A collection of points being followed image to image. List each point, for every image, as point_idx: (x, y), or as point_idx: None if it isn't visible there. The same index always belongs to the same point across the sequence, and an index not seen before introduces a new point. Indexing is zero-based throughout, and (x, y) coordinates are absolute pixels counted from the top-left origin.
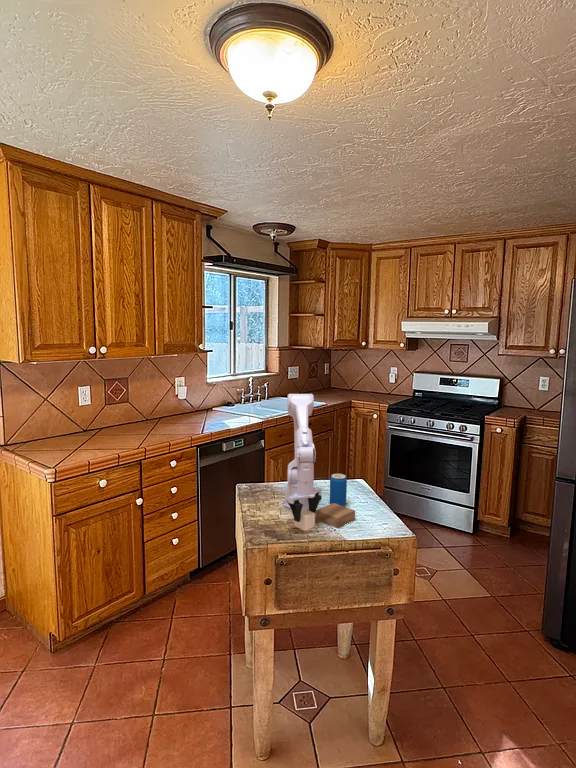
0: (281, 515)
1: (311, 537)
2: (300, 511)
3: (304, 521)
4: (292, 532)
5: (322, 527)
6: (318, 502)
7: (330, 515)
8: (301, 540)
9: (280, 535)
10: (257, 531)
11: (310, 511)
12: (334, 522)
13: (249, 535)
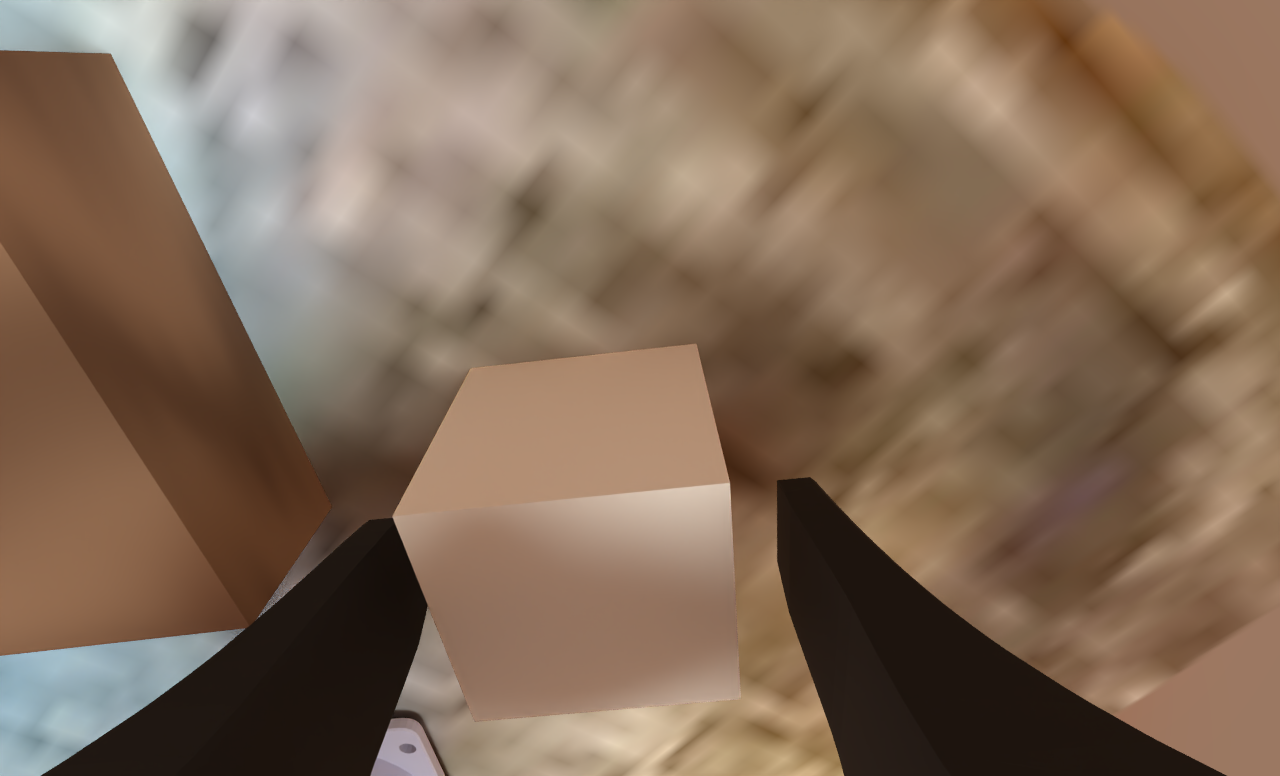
0: (638, 751)
1: (785, 81)
2: (900, 636)
3: (715, 435)
4: (871, 405)
5: (372, 272)
6: (95, 762)
7: (39, 324)
8: (1004, 102)
9: (1058, 427)
10: (1129, 629)
11: (435, 611)
12: (77, 159)
13: (1271, 606)
